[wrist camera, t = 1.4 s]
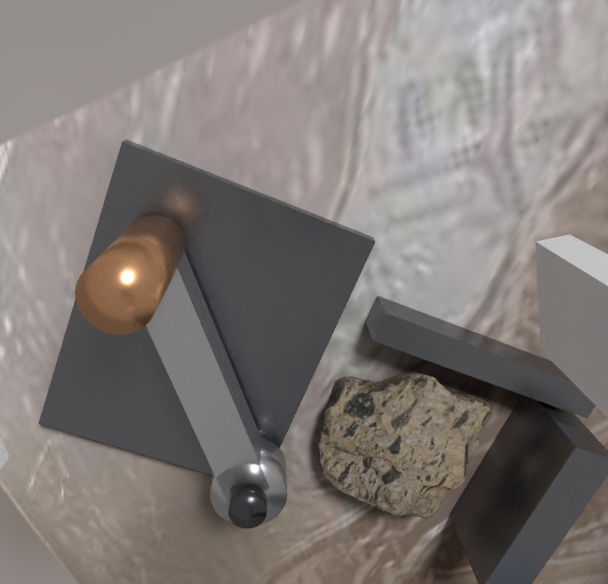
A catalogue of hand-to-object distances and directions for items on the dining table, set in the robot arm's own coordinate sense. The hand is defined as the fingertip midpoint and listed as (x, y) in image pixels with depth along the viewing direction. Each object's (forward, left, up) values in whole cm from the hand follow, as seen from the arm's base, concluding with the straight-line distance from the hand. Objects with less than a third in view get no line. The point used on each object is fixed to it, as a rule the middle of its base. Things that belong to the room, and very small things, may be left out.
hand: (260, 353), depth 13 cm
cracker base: (-11, -8, -23) cm, 27 cm away
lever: (-12, -1, -22) cm, 25 cm away
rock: (-13, -15, -23) cm, 30 cm away
